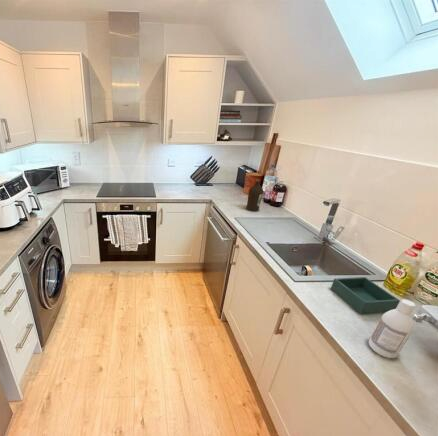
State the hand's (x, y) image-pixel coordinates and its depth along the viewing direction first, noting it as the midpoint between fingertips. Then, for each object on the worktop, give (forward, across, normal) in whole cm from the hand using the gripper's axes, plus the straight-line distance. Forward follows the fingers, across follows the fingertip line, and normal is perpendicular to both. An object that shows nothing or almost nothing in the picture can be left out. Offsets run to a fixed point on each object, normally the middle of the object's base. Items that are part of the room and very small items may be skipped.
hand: (427, 330), depth 72 cm
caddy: (0, +25, -11) cm, 28 cm away
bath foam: (+8, 0, -11) cm, 14 cm away
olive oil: (+22, +127, -10) cm, 130 cm away
